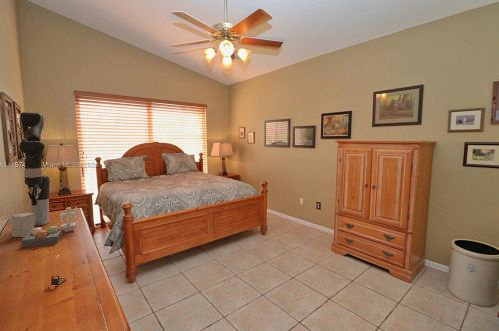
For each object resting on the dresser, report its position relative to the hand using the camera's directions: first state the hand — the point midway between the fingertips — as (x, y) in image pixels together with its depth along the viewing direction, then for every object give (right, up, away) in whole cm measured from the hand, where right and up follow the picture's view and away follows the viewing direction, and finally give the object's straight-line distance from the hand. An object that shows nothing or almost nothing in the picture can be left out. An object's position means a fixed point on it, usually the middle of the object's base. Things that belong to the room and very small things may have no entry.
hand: (34, 205), depth 138 cm
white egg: (+2, -19, -1) cm, 20 cm away
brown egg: (+8, -20, -4) cm, 22 cm away
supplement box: (-12, -19, +5) cm, 23 cm away
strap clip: (+47, -25, -43) cm, 68 cm away
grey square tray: (+7, -20, -2) cm, 21 cm away
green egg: (+8, -19, +3) cm, 21 cm away
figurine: (+8, -19, +16) cm, 26 cm away
